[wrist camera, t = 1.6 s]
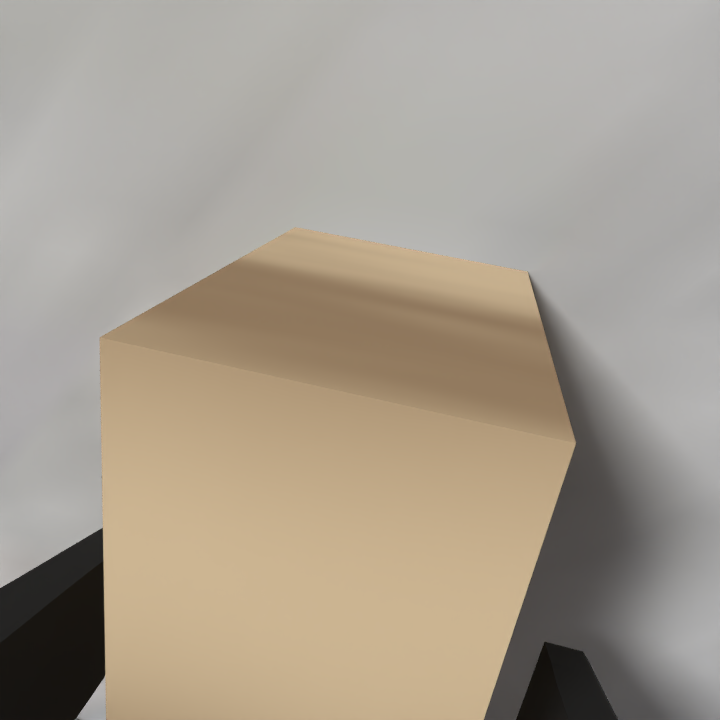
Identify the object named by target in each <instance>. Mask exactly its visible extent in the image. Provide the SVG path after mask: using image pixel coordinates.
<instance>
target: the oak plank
mask: <svg viewBox="0 0 720 720" xmlns="http://www.w3.org/2000/svg"><path fill="white" fill-rule="evenodd" d="M100 385H101V443H102V502H103V560H104V619H105V677H106V720H484V717H485V714H486V711H487V708H488V705H489V702H490V699H491V696H492V693H493V690H494V687H495V684H496V681H497V678H498V675H499V672H500V669H501V666H502V663H503V660H504V657H505V654H506V651H507V648H508V645H509V642H510V639H511V636H512V633H513V630H514V627H515V624H516V621H517V618H518V615H519V612H520V609H521V607H522V604H523V601H524V598H525V595H526V592H527V589H528V586H529V583H530V580H531V577H532V574H533V571H534V568H535V565H536V562H537V559H538V556H539V553H540V550H541V547H542V544H543V541H544V538H545V535H546V532H547V529H548V526H549V523H550V520H551V517H552V514H553V511H554V508H555V505H556V502H557V499H558V496H559V493H560V490H561V487H562V484H563V481H564V478H565V475H566V472H567V469H568V466H569V463H570V460H571V457H572V454H573V451H574V448H575V445H576V441H575V438H574V434H573V431H572V427H571V424H570V420H569V417H568V413H567V410H566V406H565V402H564V399H563V395H562V392H561V388H560V385H559V381H558V378H557V374H556V371H555V367H554V364H553V360H552V356H551V353H550V349H549V346H548V342H547V339H546V335H545V332H544V328H543V325H542V321H541V318H540V314H539V310H538V307H537V303H536V300H535V296H534V293H533V289H532V286H531V282H530V279H529V275H528V272H526V271H521V270H516V269H511V268H505V267H500V266H495V265H490V264H484V263H479V262H474V261H469V260H464V259H458V258H453V257H448V256H443V255H437V254H432V253H427V252H422V251H417V250H411V249H406V248H401V247H396V246H390V245H385V244H380V243H375V242H370V241H364V240H359V239H354V238H349V237H343V236H338V235H333V234H328V233H323V232H317V231H312V230H307V229H302V228H296V227H295V228H293V229H291V230H289V231H288V232H286V233H284V234H282V235H281V236H279V237H277V238H275V239H274V240H272V241H270V242H268V243H266V244H265V245H263V246H261V247H259V248H258V249H256V250H254V251H252V252H250V253H249V254H247V255H245V256H243V257H242V258H240V259H238V260H236V261H234V262H233V263H231V264H229V265H227V266H226V267H224V268H222V269H220V270H219V271H217V272H215V273H213V274H211V275H210V276H208V277H206V278H204V279H203V280H201V281H199V282H197V283H195V284H194V285H192V286H190V287H188V288H187V289H185V290H183V291H181V292H180V293H178V294H176V295H174V296H172V297H171V298H169V299H167V300H165V301H164V302H162V303H160V304H158V305H156V306H155V307H153V308H151V309H149V310H148V311H146V312H144V313H142V314H140V315H139V316H137V317H135V318H133V319H132V320H130V321H128V322H126V323H125V324H123V325H121V326H119V327H117V328H116V329H114V330H112V331H110V332H109V333H107V334H105V335H103V336H101V337H100Z"/></svg>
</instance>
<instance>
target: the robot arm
mask: <svg viewBox="0 0 720 720" xmlns="http://www.w3.org/2000/svg"><path fill="white" fill-rule="evenodd" d="M104 677H105V619H104V560H103V528H102V529H100V530H98V531H97V532H95V533H93V534H91V535H90V536H88V537H86V538H85V539H83V540H81V541H80V542H78V543H76V544H75V545H73V546H71V547H69V548H68V549H66V550H64V551H63V552H61V553H59V554H58V555H56V556H54V557H53V558H51V559H49V560H48V561H46V562H44V563H43V564H41V565H39V566H38V567H36V568H34V569H32V570H31V571H29V572H27V573H26V574H24V575H22V576H21V577H19V578H17V579H15V580H14V581H12V582H10V583H8V584H7V585H5V586H3V587H1V588H0V720H75V719H76V717H77V716H78V715H79V713H80V712H81V710H82V709H83V707H84V706H85V705H86V703H87V702H88V700H89V699H90V697H91V696H92V695H93V693H94V692H95V690H96V689H97V687H98V686H99V684H100V683H101V681H102V680H103V678H104ZM516 720H618V719H617V717H616V715H615V713H614V711H613V709H612V707H611V705H610V703H609V701H608V699H607V697H606V695H605V693H604V691H603V689H602V687H601V685H600V683H599V681H598V679H597V677H596V675H595V673H594V671H593V669H592V667H591V665H590V663H589V661H588V659H587V658H586V656H585V655H584V653H583V652H582V651H578V650H575V649H571V648H567V647H563V646H559V645H555V644H551V643H547V642H544V645H543V648H542V651H541V653H540V656H539V659H538V662H537V664H536V667H535V670H534V673H533V675H532V678H531V681H530V683H529V686H528V689H527V692H526V694H525V697H524V700H523V703H522V705H521V708H520V711H519V714H518V716H517V719H516Z"/></svg>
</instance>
